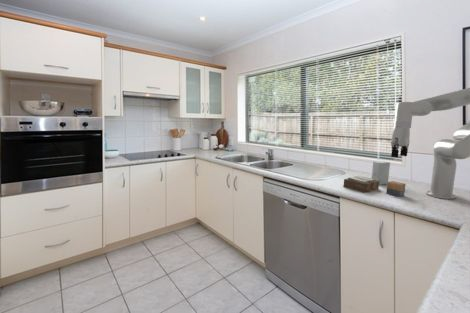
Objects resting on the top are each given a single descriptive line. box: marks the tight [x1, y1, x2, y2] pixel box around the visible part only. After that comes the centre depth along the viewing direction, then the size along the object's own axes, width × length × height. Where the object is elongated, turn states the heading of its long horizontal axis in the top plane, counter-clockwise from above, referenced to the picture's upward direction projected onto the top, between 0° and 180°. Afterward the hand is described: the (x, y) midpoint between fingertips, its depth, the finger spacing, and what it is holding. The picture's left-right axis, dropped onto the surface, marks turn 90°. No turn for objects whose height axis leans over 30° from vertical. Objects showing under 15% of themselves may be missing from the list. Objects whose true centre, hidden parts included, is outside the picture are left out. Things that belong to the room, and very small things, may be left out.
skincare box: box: [371, 160, 391, 186], centre depth 162 cm, size 8×6×15 cm
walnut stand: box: [343, 175, 380, 193], centre depth 152 cm, size 14×14×6 cm
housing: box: [386, 180, 406, 198], centre depth 138 cm, size 5×7×7 cm
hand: (399, 156), depth 136 cm, fingers open, 9 cm apart
